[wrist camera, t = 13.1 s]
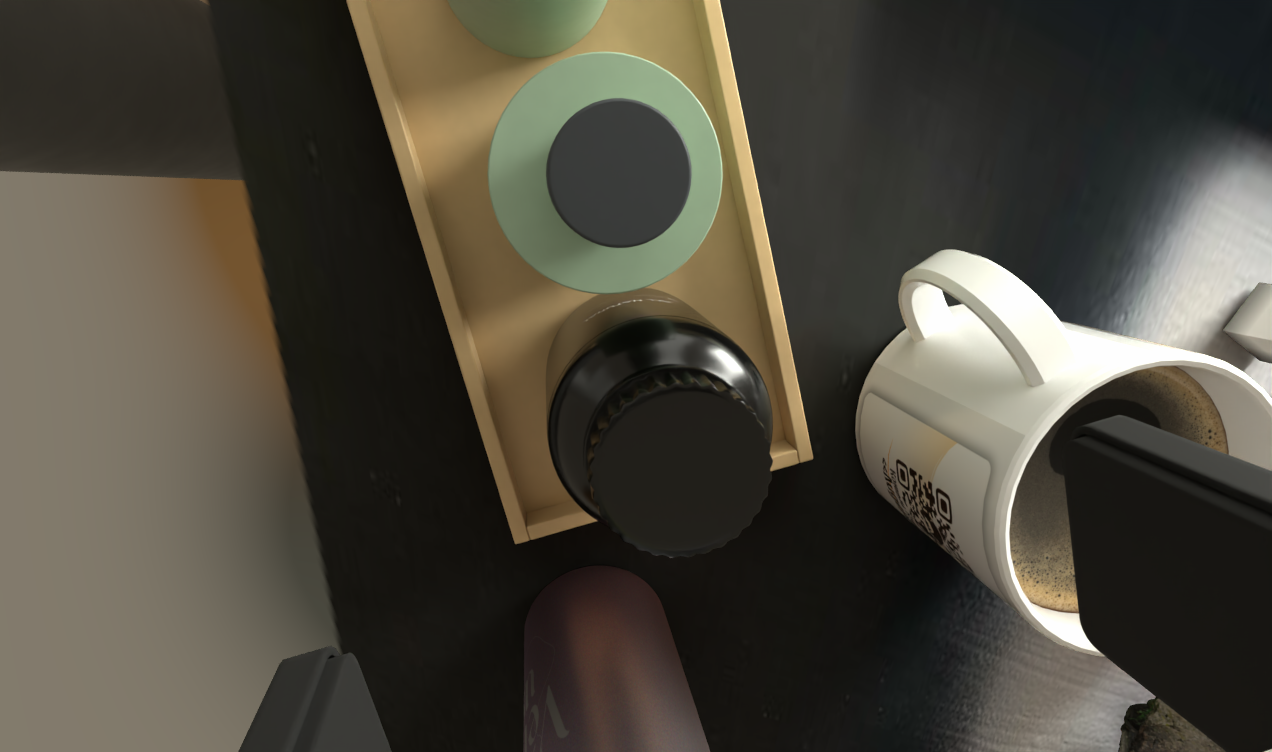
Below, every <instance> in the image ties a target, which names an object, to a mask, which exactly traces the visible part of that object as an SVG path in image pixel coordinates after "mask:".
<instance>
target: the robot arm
mask: <svg viewBox="0 0 1272 752" xmlns="http://www.w3.org/2000/svg"><path fill="white" fill-rule="evenodd" d="M1062 460H1063V469H1064V479H1065V488H1066V497H1067V507H1068V516H1069V525H1070V535H1071V544H1072V553H1073V563H1074V572H1075V582H1076V591H1077V600H1078V610H1079V618H1080V623H1081V626H1082V629H1083V632H1084V633H1085V635H1086V637H1087V639H1088V640H1089V641H1090V643H1091V644H1092V645H1093V646H1094V647H1095V648H1096V649H1097V650H1098V651H1099V652H1101V653H1102V654H1103V655H1104V656H1106V657H1107V658H1108V659H1110V660H1111V661H1112V662H1113V663H1115V664H1116V665H1117V666H1118V667H1120V668H1121V669H1122V670H1123V671H1125V672H1126V673H1127V674H1128V675H1130V676H1131V677H1132V678H1134V679H1135V680H1136V681H1137V682H1139V683H1140V684H1141V685H1142V686H1144V687H1145V688H1146V689H1147V690H1149V691H1150V692H1151V693H1153V694H1154V695H1155V696H1156V697H1158V698H1159V699H1160V700H1161V701H1163V702H1164V703H1165V704H1166V705H1168V706H1169V707H1170V708H1171V709H1173V710H1174V711H1175V712H1177V713H1178V714H1179V715H1180V716H1182V717H1183V718H1184V719H1185V720H1187V721H1188V722H1189V723H1190V724H1192V725H1193V726H1194V727H1195V728H1197V729H1198V730H1199V731H1201V732H1202V733H1203V734H1204V735H1206V736H1207V737H1208V738H1209V739H1211V740H1212V741H1213V742H1214V743H1216V744H1217V745H1218V746H1220V747H1221V748H1222V749H1223V750H1225V751H1226V752H1272V471H1270V470H1268V469H1265V468H1262V467H1260V466H1257V465H1254V464H1252V463H1249V462H1246V461H1244V460H1241V459H1238V458H1236V457H1233V456H1230V455H1228V454H1225V453H1223V452H1220V451H1217V450H1215V449H1212V448H1209V447H1207V446H1204V445H1201V444H1199V443H1196V442H1193V441H1191V440H1188V439H1185V438H1183V437H1180V436H1177V435H1175V434H1172V433H1169V432H1167V431H1164V430H1162V429H1159V428H1156V427H1154V426H1151V425H1148V424H1146V423H1143V422H1140V421H1138V420H1135V419H1132V418H1130V417H1127V416H1123V415H1117V416H1113V417H1110V418H1106V419H1103V420H1100V421H1096V422H1093V423H1089V424H1086V425H1083V426H1079V427H1076V428H1075V429H1074V430H1073V431H1072V434H1071V437H1070V441H1067V442H1066V443H1065V444H1064V446H1063V449H1062ZM239 752H392V751H391V749H390V746H389V743H388V741H387V738H386V735H385V733H384V730H383V727H382V725H381V722H380V719H379V717H378V714H377V711H376V709H375V706H374V703H373V701H372V698H371V695H370V693H369V690H368V687H367V685H366V682H365V679H364V677H363V674H362V671H361V669H360V666H359V664H358V661H357V659H356V658H355V656H354V655H353V654H352V653H347V654H344V655H340V654H339V653H338V651H337V650H336V649H335V648H334V647H332V646H329V647H325V648H322V649H319V650H315V651H312V652H308V653H305V654H301V655H298V656H295V657H291V658H288V659H284V660H283V661H282V662H281V663H280V665H279V667H278V669H277V671H276V673H275V675H274V677H273V679H272V681H271V684H270V686H269V688H268V690H267V692H266V694H265V696H264V699H263V701H262V703H261V705H260V707H259V709H258V711H257V713H256V715H255V718H254V720H253V722H252V724H251V726H250V729H249V730H248V732H247V735H246V737H245V739H244V741H243V743H242V745H241V747H240V750H239Z"/></svg>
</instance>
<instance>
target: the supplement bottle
mask: <svg viewBox="0 0 1272 752" xmlns="http://www.w3.org/2000/svg"><path fill="white" fill-rule="evenodd" d="M546 422H547V440H548V446H549V451H550V456H551V459H552V463H553V466H554V468H555V471H556V474H557V476H558V478H559V480H560V482H561V484H562V485H563V487H564V488H565V490H566V491H567V493H568V494H569V495H570V497H571V498H572V499H573V500H574V501H575V502H576V503H577V504H578V505H579V506H580V507H581V508H582V509H583V510H584V511H585V512H586V513H587V514H589V515H590V516H591V517H593V518H594V519H596V520H597V521H599V522H600V523H602V524H604V525H606V526H608V527H609V528H610V530H612V531H614V532H616V533H618V534H619V535H620V537H621V539H622V540H623V541H624V542H627V543H631V544H633V545H634V546H635V548H637V549H638V550H642V551H643V550H645V551H648V552H650V553H651V554H653V555H654V556H656V555H665V556H667V557H670V558H674V557H677V556H684V557H691V556H693V555H695V554H697V553H699V554H706V553H708V552H710V551H711V550H712V549H713V548H720V547H723V546H724V545H725V544H726V543H727V542H728V541H729V540H731V539H734V538H737V537H738V536H739V534H740V533H741V531H742V529H744V528H746V527H748V526H749V525H750V524H751V522H752V520H753V517H754V516H755V515H756V514H757V513H759V512H760V510H761V506H762V502H763V500H764V499H765V498H766V497H767V496H768V485H769V483H770V482H771V480H772V474H771V471H770V469H771V466H772V464H773V459H772V457H771V455H770V447H771V442H772V434H773V415H772V406H771V401H770V397H769V394H768V390H767V387H766V385H765V382H764V380H763V378H762V376H761V374H760V372H759V371H758V369H757V367H756V366H755V364H754V363H753V361H752V360H751V359H750V357H749V356H748V355H747V354H746V353H745V352H744V350H743V349H742V348H741V347H740V346H739V345H738V344H737V343H735V342H734V341H733V340H732V339H731V338H730V337H728V336H727V335H726V334H725V333H723V332H722V331H721V330H720V329H718V328H717V327H716V326H715V325H713V324H712V323H711V322H710V321H708V320H707V319H706V318H705V317H703V316H702V315H701V314H700V313H698V312H697V311H696V310H695V309H693V308H692V307H691V306H689V305H688V304H686V303H685V302H683V301H682V300H680V299H679V298H677V297H675V296H673V295H671V294H668V293H666V292H663V291H660V290H656V289H652V288H642V289H639V290H636V291H631V292H626V293H621V294H599V295H597V296H594V297H592V298H591V299H589V300H587V301H586V302H584V303H583V304H582V305H580V306H579V307H578V308H577V309H575V310H574V311H573V312H572V313H571V314H570V315H569V316H568V318H567V319H566V320H565V321H564V323H563V324H562V325H561V327H560V328H559V330H558V332H557V333H556V336H555V338H554V340H553V342H552V345H551V347H550V350H549V354H548V358H547V365H546Z"/></svg>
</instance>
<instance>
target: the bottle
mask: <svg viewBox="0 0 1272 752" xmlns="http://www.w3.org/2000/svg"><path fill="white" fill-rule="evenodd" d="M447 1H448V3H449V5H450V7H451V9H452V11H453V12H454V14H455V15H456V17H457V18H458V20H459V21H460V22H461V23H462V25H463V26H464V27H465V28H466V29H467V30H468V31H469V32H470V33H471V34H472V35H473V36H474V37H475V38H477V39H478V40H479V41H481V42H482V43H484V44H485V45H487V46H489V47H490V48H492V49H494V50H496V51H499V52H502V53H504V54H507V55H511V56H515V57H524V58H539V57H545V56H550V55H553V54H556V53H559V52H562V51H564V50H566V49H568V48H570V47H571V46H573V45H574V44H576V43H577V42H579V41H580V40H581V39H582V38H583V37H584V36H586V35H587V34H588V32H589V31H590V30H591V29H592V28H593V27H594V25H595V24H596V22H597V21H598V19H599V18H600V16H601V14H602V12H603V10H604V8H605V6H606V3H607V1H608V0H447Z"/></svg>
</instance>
